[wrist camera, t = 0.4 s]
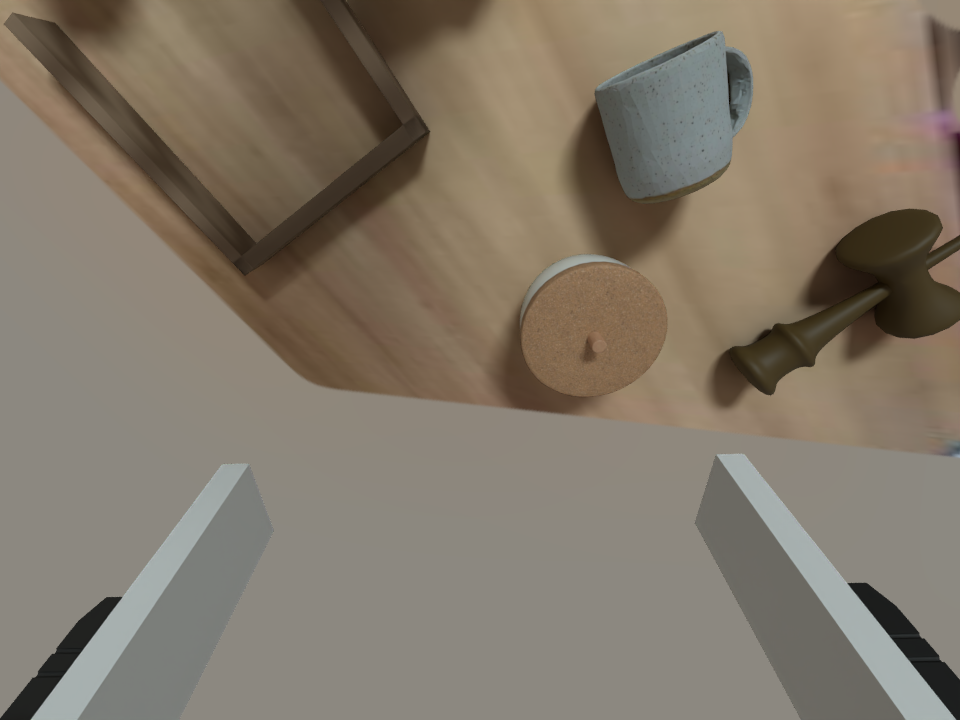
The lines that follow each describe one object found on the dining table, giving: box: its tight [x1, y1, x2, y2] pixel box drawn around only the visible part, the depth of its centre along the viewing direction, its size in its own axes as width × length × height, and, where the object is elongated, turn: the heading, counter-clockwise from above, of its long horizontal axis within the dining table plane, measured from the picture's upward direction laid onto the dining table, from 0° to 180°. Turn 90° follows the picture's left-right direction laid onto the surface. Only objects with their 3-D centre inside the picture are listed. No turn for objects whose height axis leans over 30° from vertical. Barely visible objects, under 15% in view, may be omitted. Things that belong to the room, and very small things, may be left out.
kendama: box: [730, 209, 960, 395], centre depth 36 cm, size 6×10×20 cm
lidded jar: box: [520, 254, 667, 397], centre depth 34 cm, size 11×11×9 cm
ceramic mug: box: [595, 31, 753, 204], centre depth 28 cm, size 11×8×8 cm
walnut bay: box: [4, 0, 430, 275], centre depth 29 cm, size 19×18×3 cm
